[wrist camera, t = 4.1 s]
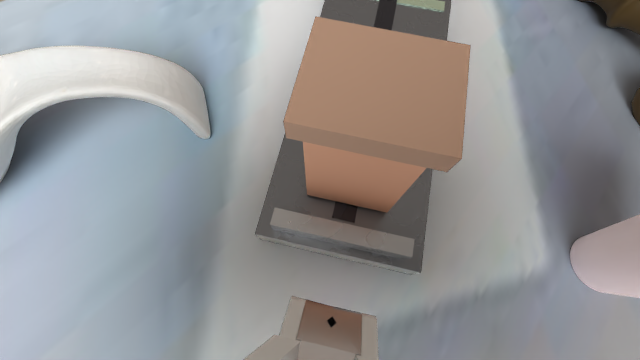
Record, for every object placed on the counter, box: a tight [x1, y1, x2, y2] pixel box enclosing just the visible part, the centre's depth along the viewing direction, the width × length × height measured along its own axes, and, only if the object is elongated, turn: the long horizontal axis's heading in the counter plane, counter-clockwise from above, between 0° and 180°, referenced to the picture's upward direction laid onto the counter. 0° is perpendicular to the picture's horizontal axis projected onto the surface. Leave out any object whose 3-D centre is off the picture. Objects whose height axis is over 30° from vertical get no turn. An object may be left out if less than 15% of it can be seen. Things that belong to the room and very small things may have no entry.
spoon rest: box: [0, 46, 211, 182], centre depth 20 cm, size 24×12×7 cm, turn 106°
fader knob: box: [283, 17, 470, 213], centre depth 15 cm, size 5×6×9 cm
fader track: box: [255, 0, 451, 275], centre depth 23 cm, size 26×10×4 cm, turn 167°
